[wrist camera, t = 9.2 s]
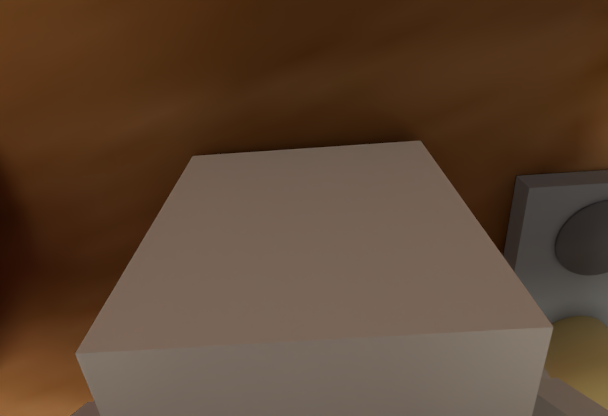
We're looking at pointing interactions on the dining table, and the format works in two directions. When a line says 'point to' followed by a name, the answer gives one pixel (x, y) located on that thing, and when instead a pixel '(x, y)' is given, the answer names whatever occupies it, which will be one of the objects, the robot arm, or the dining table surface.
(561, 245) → the plate
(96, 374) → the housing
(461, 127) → the dining table surface
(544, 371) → the robot arm
